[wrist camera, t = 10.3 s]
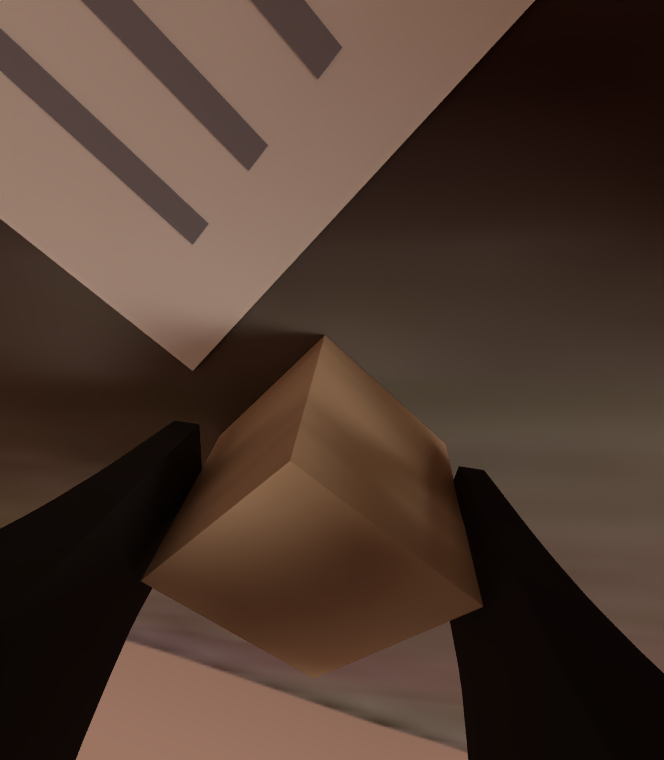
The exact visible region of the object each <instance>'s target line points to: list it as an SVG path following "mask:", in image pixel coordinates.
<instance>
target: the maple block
mask: <svg viewBox="0 0 664 760" xmlns="http://www.w3.org/2000/svg"><path fill="white" fill-rule="evenodd" d="M453 480H454V479H453V475H452V471H451V466H450V462H449V458H448V454H447V449H446V445H445V443H444V442H443V441H442V440H441V439H439V438H438V437H437V436H436V435H435V434H434V433H433V432H432V431H431V430H429V429H428V428H427V427H426V426H425V425H424V424H423V423H422V422H421V421H420V420H418V419H417V418H416V417H415V416H414V415H413V414H412V413H411V412H410V411H408V410H407V409H406V408H405V407H404V406H403V405H402V404H401V403H400V402H398V401H397V400H396V399H395V398H394V397H393V396H392V395H391V394H390V393H388V392H387V391H386V390H385V389H384V388H383V387H382V386H381V385H380V384H379V383H377V382H376V381H375V380H374V379H373V378H372V377H371V376H370V375H369V374H367V373H366V372H365V371H364V370H363V369H362V368H361V367H360V366H359V365H357V364H356V363H355V362H354V361H353V360H352V359H351V358H350V357H349V356H347V355H346V354H345V353H344V352H343V351H342V350H341V349H340V348H339V347H338V346H336V345H335V344H334V343H333V342H332V341H331V340H330V339H329V338H328V337H326V336H325V335H324V336H323V337H322V338H321V339H320V340H319V341H318V342H317V343H316V344H315V345H314V346H313V347H312V348H311V349H310V350H309V351H308V352H307V353H306V354H305V355H304V356H302V357H301V358H300V359H299V360H298V361H297V362H296V363H295V364H294V365H293V366H292V367H291V368H290V369H289V370H288V371H287V372H286V373H285V374H284V375H283V376H282V377H281V378H279V379H278V380H277V381H276V382H275V383H274V384H273V385H272V386H271V387H270V388H269V389H268V390H267V391H266V392H265V393H264V394H263V395H262V396H261V397H260V398H259V399H258V400H257V401H255V402H254V403H253V404H252V405H251V406H250V407H249V408H248V409H247V410H246V411H245V412H244V413H243V414H242V415H241V416H240V417H239V418H238V419H237V420H236V421H235V422H234V423H232V424H231V425H230V426H229V427H228V428H227V429H226V430H225V431H224V432H223V433H222V434H221V435H220V436H219V438H218V440H217V442H216V444H215V445H214V447H213V449H212V451H211V453H210V455H209V456H208V458H207V460H206V462H205V464H204V466H203V467H202V470H201V472H200V474H199V476H198V477H197V479H196V481H195V483H194V485H193V487H192V488H191V490H190V492H189V494H188V496H187V498H186V499H185V501H184V503H183V504H182V506H181V508H180V510H179V511H178V513H177V515H176V517H175V519H174V521H173V522H172V524H171V526H170V528H169V530H168V531H167V533H166V535H165V537H164V539H163V541H162V542H161V544H160V546H159V548H158V550H157V552H156V553H155V555H154V557H153V559H152V561H151V563H150V564H149V566H148V568H147V570H146V572H145V574H144V575H143V577H142V579H141V582H143V583H145V584H147V585H148V586H150V587H152V588H154V589H156V590H157V591H159V592H161V593H163V594H164V595H166V596H168V597H170V598H172V599H173V600H175V601H177V602H179V603H180V604H182V605H184V606H186V607H188V608H189V609H191V610H193V611H195V612H196V613H198V614H200V615H202V616H204V617H205V618H207V619H209V620H211V621H212V622H214V623H216V624H218V625H220V626H221V627H223V628H225V629H227V630H228V631H230V632H232V633H234V634H236V635H237V636H239V637H241V638H243V639H244V640H246V641H248V642H250V643H252V644H253V645H255V646H257V647H259V648H260V649H262V650H264V651H266V652H268V653H269V654H271V655H273V656H275V657H276V658H278V659H280V660H282V661H284V662H285V663H287V664H289V665H291V666H292V667H294V668H296V669H298V670H300V671H301V672H303V673H305V674H307V675H308V676H310V677H312V678H316V677H319V676H321V675H323V674H326V673H328V672H330V671H333V670H335V669H337V668H340V667H342V666H344V665H347V664H349V663H352V662H354V661H356V660H359V659H361V658H363V657H366V656H368V655H370V654H373V653H375V652H378V651H380V650H382V649H385V648H387V647H389V646H392V645H394V644H396V643H399V642H401V641H403V640H406V639H408V638H411V637H413V636H415V635H418V634H420V633H422V632H425V631H427V630H429V629H432V628H434V627H436V626H439V625H441V624H444V623H446V622H448V621H451V620H453V619H455V618H458V617H460V616H462V615H465V614H467V613H470V612H472V611H474V610H477V609H479V608H481V607H483V603H482V599H481V595H480V591H479V586H478V582H477V578H476V574H475V569H474V565H473V561H472V556H471V552H470V548H469V544H468V539H467V535H466V531H465V526H464V523H463V519H462V516H461V512H460V508H459V504H458V499H457V495H456V491H455V486H454V482H453Z"/></svg>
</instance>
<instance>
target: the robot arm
mask: <svg viewBox="0 0 664 760" xmlns="http://www.w3.org/2000/svg"><path fill="white" fill-rule="evenodd" d="M201 470H202V465H201V447H200V430H199V424H193V423H186V422H180V421H174V422H172V423H171V424H169V425H168V426H166V427H165V428H163V429H162V430H160V431H159V432H157V433H156V434H154V435H153V436H152V437H150V438H149V439H147V440H146V441H144V442H143V443H141V444H140V445H138V446H137V447H136V448H134V449H133V450H131V451H130V452H128V453H127V454H125V455H124V456H122V457H121V458H119V459H118V460H116V461H115V462H113V463H112V464H110V465H109V466H107V467H106V468H104V469H103V470H101V471H100V472H98V473H97V474H95V475H93V476H92V477H90V478H88V479H87V480H85V481H83V482H82V483H80V484H79V485H77V486H75V487H74V488H72V489H70V490H69V491H67V492H65V493H64V494H62V495H60V496H59V497H57V498H56V499H54V500H52V501H51V502H49V503H47V504H45V505H44V506H42V507H40V508H38V509H36V510H35V511H33V512H31V513H29V514H27V515H25V516H24V517H22V518H20V519H18V520H16V521H14V522H12V523H10V524H8V525H6V526H5V527H3V528H1V529H0V760H76V757H77V755H78V752H79V750H80V747H81V744H82V742H83V740H84V737H85V735H86V732H87V730H88V727H89V725H90V723H91V720H92V718H93V715H94V713H95V711H96V708H97V706H98V703H99V701H100V698H101V696H102V694H103V691H104V689H105V687H106V684H107V682H108V679H109V677H110V675H111V672H112V670H113V668H114V666H115V663H116V661H117V659H118V656H119V654H120V652H121V650H122V647H123V645H124V643H125V641H126V638H127V636H128V634H129V632H130V630H131V627H132V625H133V623H134V621H135V619H136V617H137V615H138V613H139V611H140V610H141V608H142V606H143V604H144V602H145V600H146V599H147V597H148V595H149V593H150V591H151V589H152V587H150V586H148V585H147V584H145V583H143V582H141V579H142V577H143V575H144V574H145V572H146V570H147V568H148V566H149V564H150V563H151V561H152V559H153V557H154V555H155V553H156V552H157V550H158V548H159V546H160V544H161V542H162V541H163V539H164V537H165V535H166V533H167V531H168V530H169V528H170V526H171V524H172V522H173V521H174V519H175V517H176V515H177V513H178V511H179V510H180V508H181V506H182V504H183V503H184V501H185V499H186V498H187V496H188V494H189V492H190V490H191V488H192V487H193V485H194V483H195V481H196V479H197V477H198V476H199V474H200V472H201ZM453 482H454V486H455V491H456V495H457V499H458V504H459V508H460V512H461V516H462V519H463V523H464V526H465V531H466V535H467V539H468V544H469V548H470V552H471V556H472V561H473V565H474V569H475V574H476V578H477V582H478V586H479V591H480V595H481V599H482V603H483V607H481V608H479V609H477V610H474V611H472V612H470V613H467V614H465V615H462V616H460V617H458V618H455V619H453V620H451V621H450V624H451V630H452V635H453V640H454V646H455V651H456V656H457V662H458V668H459V674H460V681H461V688H462V697H463V707H464V718H465V728H466V738H467V750H468V760H664V673H663V672H662V671H661V670H659V669H658V668H657V667H656V666H655V665H654V664H653V663H652V662H651V661H650V660H649V659H648V658H647V657H646V656H645V655H644V654H643V653H642V652H641V651H640V650H639V649H638V648H637V647H636V646H635V645H634V644H633V643H632V642H631V641H630V640H629V639H628V638H627V637H626V636H625V635H624V634H623V633H622V632H621V631H620V630H619V629H618V628H617V627H616V626H615V625H614V624H613V623H612V622H611V621H610V620H609V619H608V618H607V617H606V616H605V615H604V614H603V613H602V612H601V611H600V610H599V609H598V608H597V607H596V606H595V605H594V603H593V602H592V601H591V600H590V599H589V598H588V597H587V596H586V595H585V594H584V593H583V591H582V590H581V589H580V588H579V587H578V586H577V585H576V584H575V582H574V581H573V580H572V579H571V578H570V577H569V576H568V575H567V573H566V572H565V571H564V570H563V569H562V568H561V567H560V565H559V564H558V563H557V562H556V561H555V559H554V558H553V557H552V556H551V555H550V554H549V552H548V551H547V550H546V549H545V548H544V546H543V545H542V544H541V543H540V541H539V540H538V539H537V538H536V536H535V535H534V534H533V533H532V531H531V530H530V529H529V528H528V526H527V525H526V524H525V523H524V521H523V520H522V519H521V518H520V516H519V515H518V514H517V512H516V511H515V510H514V508H513V507H512V506H511V505H510V503H509V502H508V501H507V499H506V498H505V497H504V495H503V494H502V493H501V491H500V490H499V489H498V487H497V486H496V485H495V484H494V482H493V481H492V480H491V478H490V477H489V476H488V475H487V473H486V472H485V471H484V470H479V469H473V468H467V467H460V466H459V467H458V470H457V473H456V475H455V478H454V480H453Z"/></svg>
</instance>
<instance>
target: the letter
mask: <svg viewBox="0 0 664 760" xmlns="http://www.w3.org/2000/svg"><path fill="white" fill-rule="evenodd" d="M534 1H535V0H0V219H1V220H3V221H4V222H5V223H6V224H8V225H9V226H10V227H11V228H13V229H14V230H15V231H16V232H18V233H19V234H20V235H22V236H23V237H24V238H25V239H27V240H28V241H29V242H30V243H32V244H33V245H34V246H35V247H37V248H38V249H39V250H40V251H42V252H43V253H44V254H46V255H47V256H48V257H49V258H51V259H52V260H53V261H54V262H56V263H57V264H58V265H59V266H61V267H62V268H63V269H64V270H66V271H67V272H68V273H69V274H71V275H72V276H73V277H75V278H76V279H77V280H78V281H80V282H81V283H82V284H83V285H85V286H86V287H87V288H88V289H90V290H91V291H92V292H93V293H95V294H96V295H97V296H99V297H100V298H101V299H102V300H104V301H105V302H106V303H107V304H109V305H110V306H111V307H112V308H114V309H115V310H116V311H117V312H119V313H120V314H121V315H122V316H124V317H125V318H126V319H128V320H129V321H130V322H131V323H133V324H134V325H135V326H136V327H138V328H139V329H140V330H141V331H143V332H144V333H145V334H146V335H148V336H149V337H150V338H152V339H153V340H154V341H155V342H157V343H158V344H159V345H160V346H162V347H163V348H164V349H165V350H167V351H168V352H169V353H170V354H172V355H173V356H174V357H175V358H177V359H178V360H179V361H181V362H182V363H183V364H184V365H186V366H187V367H188V368H189V369H191V370H192V371H193V370H194V369H195V368H196V367H197V366H198V365H199V364H200V363H201V361H202V360H203V359H204V358H205V357H206V356H207V355H208V354H209V353H210V352H211V351H212V350H213V348H214V347H215V346H216V345H217V344H218V343H219V342H220V341H221V340H222V339H223V338H224V337H225V335H226V334H227V333H228V332H229V331H230V330H231V329H232V328H233V327H234V326H235V325H236V324H237V322H238V321H239V320H240V319H241V318H242V317H243V316H244V315H245V314H246V313H247V312H248V311H249V309H250V308H251V307H252V306H253V305H254V304H255V303H256V302H257V301H258V300H259V299H260V298H261V296H262V295H263V294H264V293H265V292H266V291H267V290H268V289H269V288H270V287H271V286H272V285H273V283H274V282H275V281H276V280H277V279H278V278H279V277H280V276H281V275H282V274H283V273H284V272H285V270H286V269H287V268H288V267H289V266H290V265H291V264H292V263H293V262H294V261H295V260H296V259H297V258H298V256H299V255H300V254H301V253H302V252H303V251H304V250H305V249H306V248H307V247H308V246H309V245H310V243H311V242H312V241H313V240H314V239H315V238H316V237H317V236H318V235H319V234H320V233H321V232H322V230H323V229H324V228H325V227H326V226H327V225H328V224H329V223H330V222H331V221H332V220H333V219H334V217H335V216H336V215H337V214H338V213H339V212H340V211H341V210H342V209H343V208H344V207H345V206H346V204H347V203H348V202H349V201H350V200H351V199H352V198H353V197H354V196H355V195H356V194H357V193H358V191H359V190H360V189H361V188H362V187H363V186H364V185H365V184H366V183H367V182H368V181H369V180H370V178H371V177H372V176H373V175H374V174H375V173H376V172H377V171H378V170H379V169H380V168H381V167H382V165H383V164H384V163H385V162H386V161H387V160H388V159H389V158H390V157H391V156H392V155H393V154H394V152H395V151H396V150H397V149H398V148H399V147H400V146H401V145H402V144H403V143H404V142H405V141H406V139H407V138H408V137H409V136H410V135H411V134H412V133H413V132H414V131H415V130H416V129H417V128H418V126H419V125H420V124H421V123H422V122H423V121H424V120H425V119H426V118H427V117H428V116H429V115H430V114H431V112H432V111H433V110H434V109H435V108H436V107H437V106H438V105H439V104H440V103H441V102H442V101H443V99H444V98H445V97H446V96H447V95H448V94H449V93H450V92H451V91H452V90H453V89H454V88H455V86H456V85H457V84H458V83H459V82H460V81H461V80H462V79H463V78H464V77H465V76H466V75H467V73H468V72H469V71H470V70H471V69H472V68H473V67H474V66H475V65H476V64H477V63H478V62H479V60H480V59H481V58H482V57H483V56H484V55H485V54H486V53H487V52H488V51H489V50H490V49H491V47H492V46H493V45H494V44H495V43H496V42H497V41H498V40H499V39H500V38H501V37H502V36H503V34H504V33H505V32H506V31H507V30H508V29H509V28H510V27H511V26H512V25H513V24H514V23H515V21H516V20H517V19H518V18H519V17H520V16H521V15H522V14H523V13H524V12H525V11H526V10H527V8H528V7H529V6H530V5H531V4H532V3H533V2H534Z"/></svg>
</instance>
